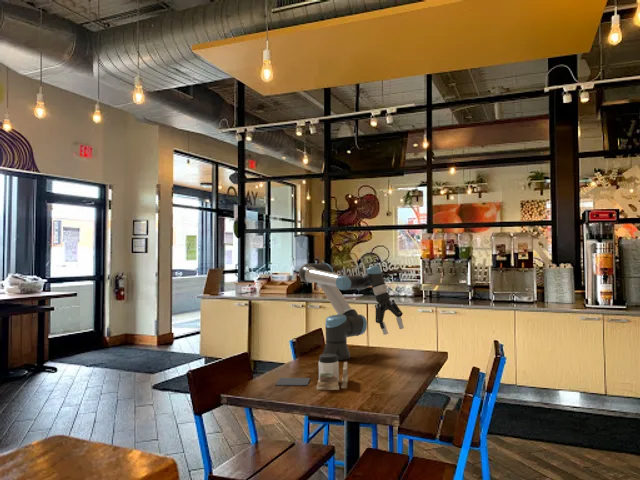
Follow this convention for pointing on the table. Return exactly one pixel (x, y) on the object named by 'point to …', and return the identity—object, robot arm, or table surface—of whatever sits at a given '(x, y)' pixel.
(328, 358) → the jar
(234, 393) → the table surface
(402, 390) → the table surface
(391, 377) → the table surface
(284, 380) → the mat
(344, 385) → the rack
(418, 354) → the table surface
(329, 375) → the offcuts
